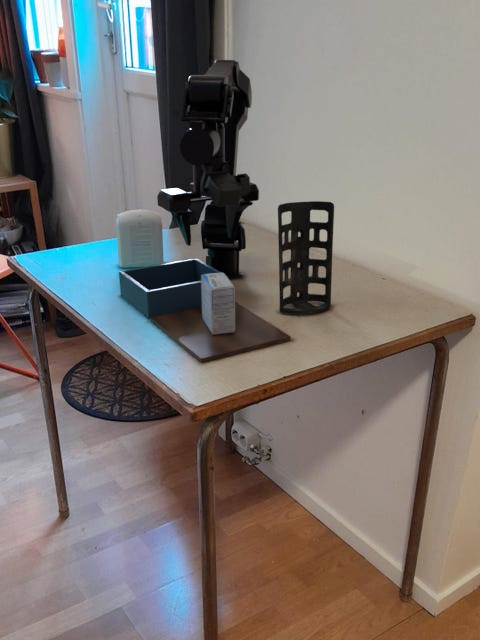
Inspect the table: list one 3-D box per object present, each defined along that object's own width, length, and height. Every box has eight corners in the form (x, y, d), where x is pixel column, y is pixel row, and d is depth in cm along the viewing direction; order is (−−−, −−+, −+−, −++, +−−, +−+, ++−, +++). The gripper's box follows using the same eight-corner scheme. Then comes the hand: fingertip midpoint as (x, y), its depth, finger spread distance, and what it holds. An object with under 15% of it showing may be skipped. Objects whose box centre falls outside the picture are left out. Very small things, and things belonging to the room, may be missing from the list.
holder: (289, 318, 124) (290, 208, 115) (269, 308, 130) (269, 203, 121) (337, 309, 128) (342, 202, 119) (316, 300, 134) (319, 198, 125)
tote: (197, 282, 141) (196, 257, 138) (229, 302, 131) (229, 276, 128) (120, 296, 133) (118, 271, 130) (148, 319, 123) (146, 292, 121)
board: (233, 304, 130) (233, 300, 130) (290, 340, 116) (290, 336, 116) (150, 321, 122) (150, 317, 122) (201, 363, 108) (201, 358, 108)
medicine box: (235, 333, 116) (236, 286, 112) (211, 335, 115) (210, 288, 111) (224, 316, 123) (224, 271, 118) (201, 318, 122) (200, 273, 117)
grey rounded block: (162, 261, 153) (160, 206, 146) (165, 266, 149) (162, 211, 143) (118, 263, 151) (113, 208, 144) (119, 269, 147) (114, 213, 141)
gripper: (182, 167, 107) (185, 261, 116) (277, 157, 116) (273, 245, 124) (153, 156, 115) (158, 244, 124) (243, 148, 124) (242, 231, 132)
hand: (209, 241), depth 126 cm, fingers open, 9 cm apart
